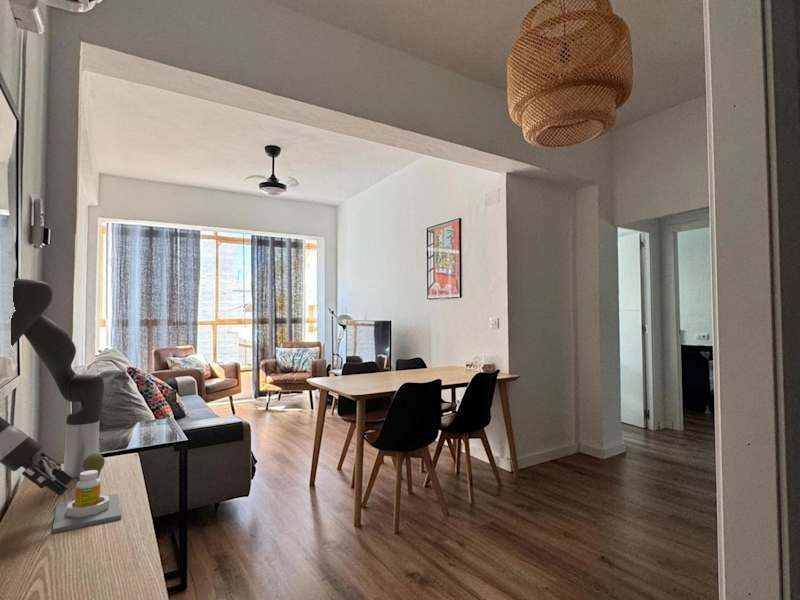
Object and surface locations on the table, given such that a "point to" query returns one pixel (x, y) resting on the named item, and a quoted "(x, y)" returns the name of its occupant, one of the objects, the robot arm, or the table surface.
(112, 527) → the table surface
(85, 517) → the collar plate
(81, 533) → the table surface
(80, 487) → the supplement bottle
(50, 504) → the table surface
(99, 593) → the table surface
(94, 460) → the light bulb
